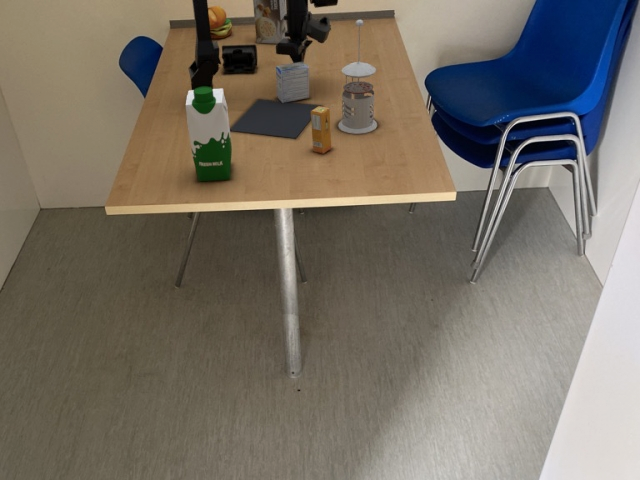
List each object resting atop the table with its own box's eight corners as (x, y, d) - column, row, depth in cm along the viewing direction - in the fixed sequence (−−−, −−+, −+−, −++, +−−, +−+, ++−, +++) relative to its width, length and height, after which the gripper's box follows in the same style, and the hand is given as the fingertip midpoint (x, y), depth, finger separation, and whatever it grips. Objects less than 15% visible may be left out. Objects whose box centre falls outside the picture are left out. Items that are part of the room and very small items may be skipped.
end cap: (258, 64, 205) (256, 41, 201) (256, 73, 200) (254, 49, 195) (225, 65, 206) (223, 42, 201) (222, 74, 201) (219, 50, 196)
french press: (345, 136, 166) (346, 29, 149) (330, 117, 174) (329, 14, 158) (383, 129, 167) (387, 23, 151) (366, 111, 176) (369, 8, 159)
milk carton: (194, 183, 152) (180, 96, 138) (197, 164, 158) (184, 79, 145) (233, 181, 151) (223, 93, 138) (234, 162, 158) (225, 76, 145)
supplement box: (320, 145, 163) (319, 105, 156) (331, 149, 161) (331, 108, 154) (311, 150, 161) (310, 110, 154) (323, 154, 159) (322, 113, 152)
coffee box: (288, 37, 222) (285, -16, 211) (282, 44, 217) (279, -10, 207) (261, 36, 224) (258, -17, 214) (255, 43, 220) (251, -11, 209)
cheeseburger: (240, 31, 229) (233, 2, 221) (223, 48, 224) (215, 20, 216) (216, 27, 233) (208, -2, 225) (198, 44, 228) (190, 15, 220)
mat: (295, 138, 166) (295, 137, 166) (229, 130, 171) (228, 130, 171) (321, 106, 180) (321, 105, 180) (258, 99, 185) (258, 99, 185)
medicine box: (303, 92, 187) (302, 60, 181) (309, 98, 184) (309, 66, 178) (276, 97, 185) (275, 65, 179) (282, 103, 182) (281, 71, 176)
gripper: (315, 22, 166) (317, 86, 176) (337, 0, 179) (337, 60, 189) (273, 20, 169) (277, 82, 179) (297, -2, 182) (300, 57, 192)
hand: (299, 70), depth 185 cm, fingers closed
